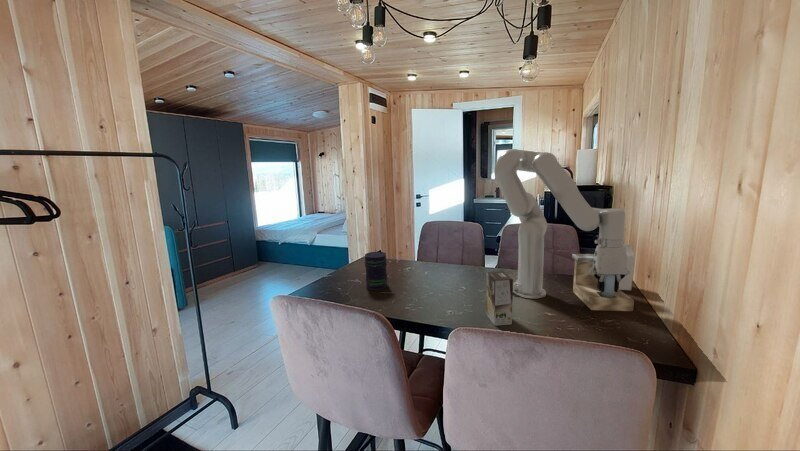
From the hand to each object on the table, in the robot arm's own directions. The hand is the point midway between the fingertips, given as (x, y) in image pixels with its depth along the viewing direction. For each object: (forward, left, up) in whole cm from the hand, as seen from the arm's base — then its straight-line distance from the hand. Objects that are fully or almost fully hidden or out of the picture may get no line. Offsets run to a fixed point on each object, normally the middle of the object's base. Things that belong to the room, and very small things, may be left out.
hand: (607, 290), depth 123 cm
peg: (0, 0, -2) cm, 2 cm away
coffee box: (-41, -15, -6) cm, 44 cm away
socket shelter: (0, +4, -6) cm, 7 cm away
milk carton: (+13, +19, -6) cm, 24 cm away
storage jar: (-91, +15, -6) cm, 93 cm away
